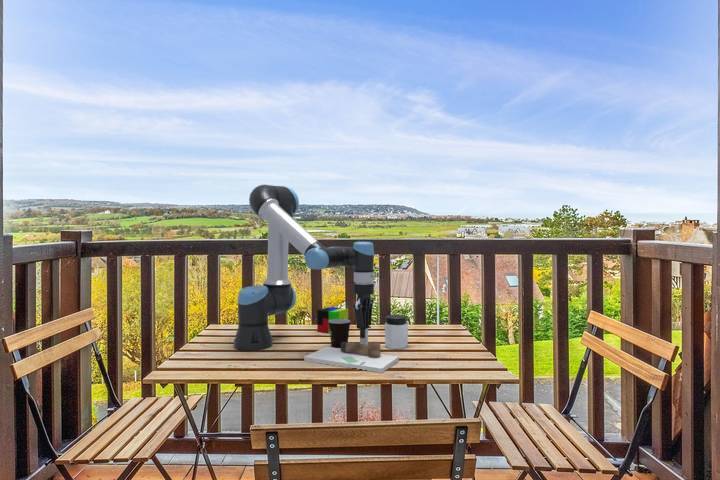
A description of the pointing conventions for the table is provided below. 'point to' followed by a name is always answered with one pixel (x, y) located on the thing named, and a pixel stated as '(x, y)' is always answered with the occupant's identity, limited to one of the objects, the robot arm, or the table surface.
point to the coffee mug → (339, 331)
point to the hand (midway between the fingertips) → (364, 345)
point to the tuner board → (352, 359)
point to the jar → (396, 332)
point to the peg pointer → (362, 348)
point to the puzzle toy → (329, 317)
